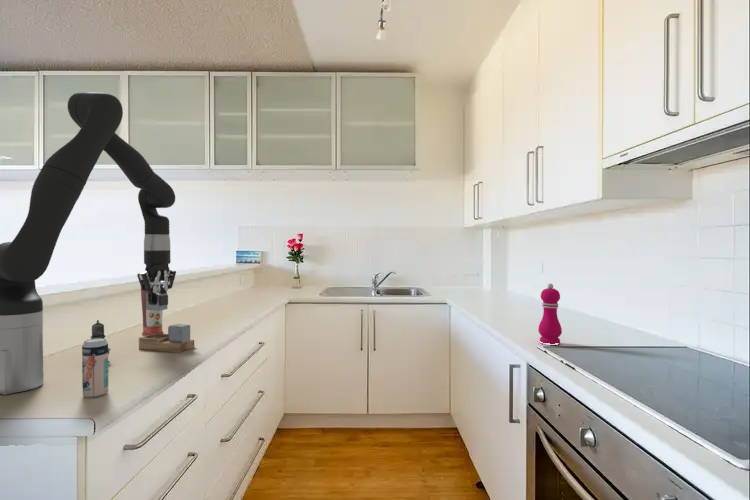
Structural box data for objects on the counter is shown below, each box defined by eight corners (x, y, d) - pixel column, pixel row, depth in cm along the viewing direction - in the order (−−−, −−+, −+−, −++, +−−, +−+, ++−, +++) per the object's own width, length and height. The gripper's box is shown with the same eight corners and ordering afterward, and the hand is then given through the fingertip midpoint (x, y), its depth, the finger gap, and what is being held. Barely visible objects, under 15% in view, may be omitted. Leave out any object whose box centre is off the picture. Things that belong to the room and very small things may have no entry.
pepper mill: (533, 342, 150) (534, 282, 149) (551, 340, 152) (552, 282, 151) (548, 347, 143) (548, 284, 142) (566, 345, 145) (567, 284, 145)
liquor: (148, 340, 150) (148, 257, 150) (136, 338, 154) (135, 257, 153) (168, 336, 156) (168, 256, 156) (156, 334, 160) (155, 256, 160)
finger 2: (182, 343, 135) (182, 326, 135) (167, 341, 137) (167, 325, 137) (190, 340, 139) (190, 324, 139) (176, 339, 140) (175, 323, 140)
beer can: (80, 394, 97) (79, 340, 97) (105, 389, 100) (104, 336, 100) (85, 400, 94) (84, 343, 93) (111, 395, 97) (110, 340, 97)
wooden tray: (177, 352, 134) (177, 341, 134) (138, 348, 139) (138, 337, 138) (194, 347, 140) (194, 336, 140) (156, 343, 145) (156, 333, 145)
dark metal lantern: (98, 367, 118) (98, 322, 118) (80, 365, 120) (79, 321, 119) (115, 361, 124) (115, 318, 124) (97, 360, 125) (97, 317, 125)
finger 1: (160, 310, 138) (160, 294, 138) (146, 309, 140) (146, 293, 139) (168, 309, 141) (168, 293, 141) (154, 308, 143) (154, 292, 143)
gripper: (148, 249, 132) (149, 307, 132) (183, 248, 145) (183, 301, 146) (129, 249, 134) (129, 306, 135) (164, 248, 148) (165, 300, 148)
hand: (157, 303), depth 140 cm, fingers closed on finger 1, 3 cm apart
